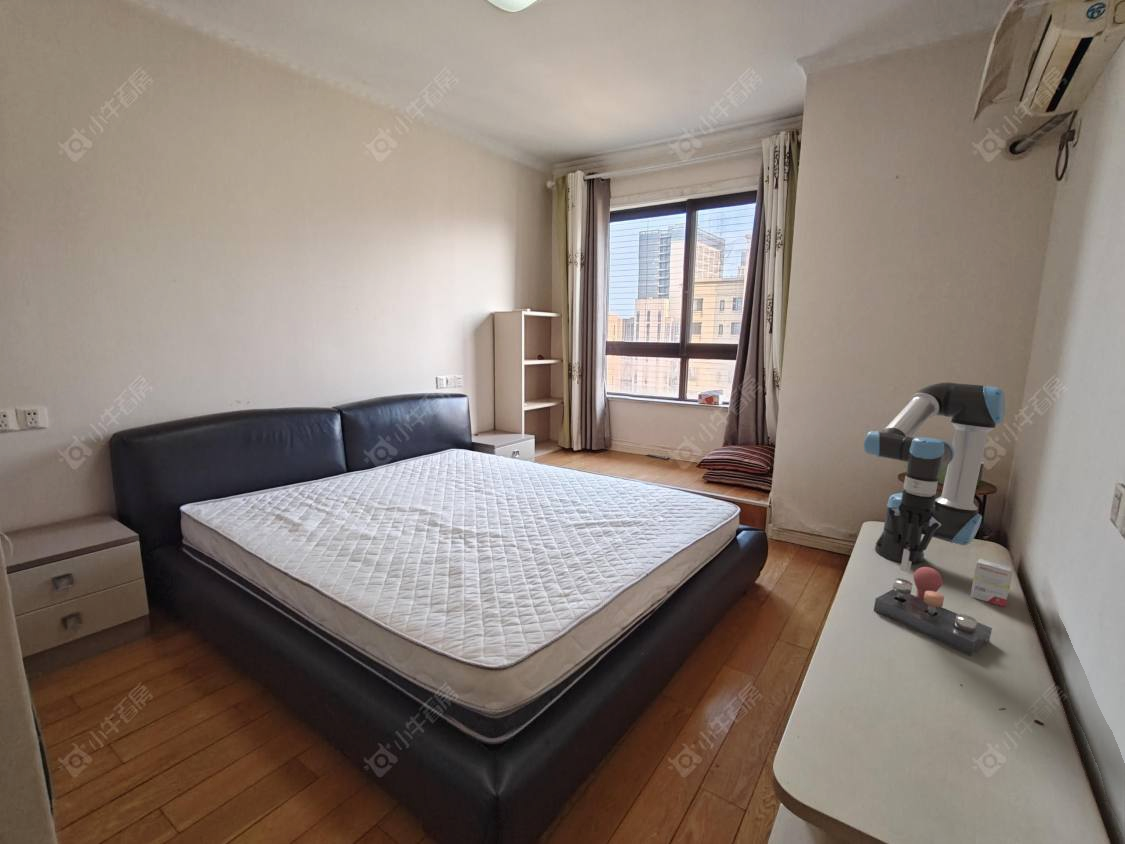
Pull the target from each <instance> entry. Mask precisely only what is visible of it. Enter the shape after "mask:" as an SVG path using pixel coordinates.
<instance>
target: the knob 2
mask: <svg viewBox="0 0 1125 844" xmlns="http://www.w3.org/2000/svg"><path fill="white" fill-rule="evenodd" d="M944 600H945V596H944V595H943V594H942V593H939V592H938V591H937V592H934V591H925V595H924V600H923V601H924V602H925V603H926V604H928V605H929V607H928V612H927V613H928V614H930V615H933V616H934V614H935V609H936V607H942V608H943V605H944Z"/></svg>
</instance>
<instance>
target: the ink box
mask: <svg viewBox="0 0 1125 844" xmlns="http://www.w3.org/2000/svg"><path fill="white" fill-rule="evenodd" d="M1013 571H1014V567H1013V566H1009V565H1005V564H1002V563H998V562H995V561H991V560H988V559H984V558H978V559H977V561H976V565H975V570H974V575H973V581H972V586H971V591H970V598H973V599H978V600H980V601H984V602H987V603H991V604H993V605H996V606H1001V607H1003V608H1004V607H1007V601H1008V597H1009V596H1008V595H1009V593H1010V592H1009V591H1010V586H1011V582H1012V578H1013V577H1012V576H1013Z"/></svg>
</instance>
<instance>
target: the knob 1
mask: <svg viewBox="0 0 1125 844" xmlns="http://www.w3.org/2000/svg"><path fill="white" fill-rule="evenodd" d="M892 585H893V587H892V590H893V589H894V590H895V591H897V592H898V596H897V600H898V601H900V602H903V600H904V595H905V594H912V589H913V583H912V582H911V581H909V580H907V579H904V578H894V581H893V584H892Z"/></svg>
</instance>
